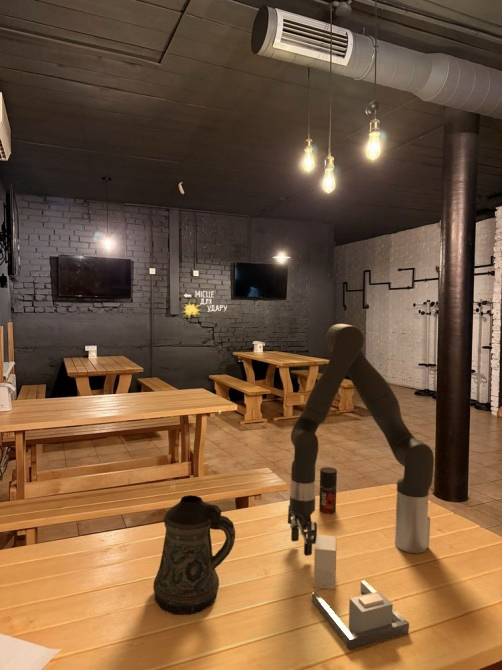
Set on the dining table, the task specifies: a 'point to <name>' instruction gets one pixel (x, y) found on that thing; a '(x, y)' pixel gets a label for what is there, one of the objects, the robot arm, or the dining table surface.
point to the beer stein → (191, 557)
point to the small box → (325, 562)
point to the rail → (365, 637)
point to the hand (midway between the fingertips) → (301, 547)
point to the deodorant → (328, 490)
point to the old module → (369, 612)
